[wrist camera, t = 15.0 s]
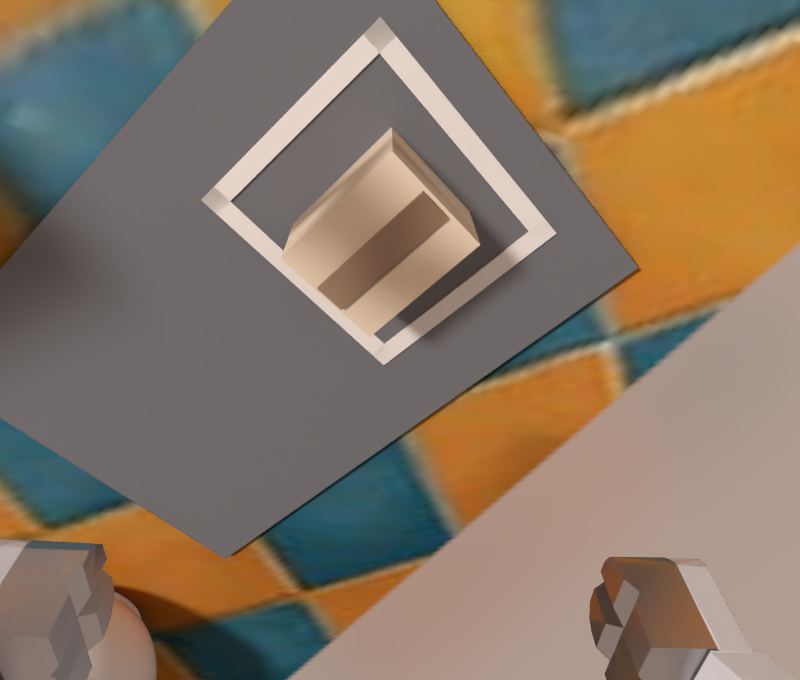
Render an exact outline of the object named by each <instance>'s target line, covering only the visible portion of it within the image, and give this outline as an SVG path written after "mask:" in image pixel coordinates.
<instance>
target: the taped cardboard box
mask: <svg viewBox="0 0 800 680" xmlns="http://www.w3.org/2000/svg"><path fill="white" fill-rule="evenodd" d="M478 246H480V242H479V239H478V236H477V233H476V230H475V227H474V224H473V220H472V217H471V214H470V211H469V210H468V209H467V208H466V206H465V205H464V204H463V203H462V202H461V201H460V200H459V199H458V198H457V197H456V196H455V195H454V193H453V192H452V191H451V190H450V189H449V188H448V187H447V186H446V185H445V184H444V183H443V182H442V181H441V179H440V178H439V177H438V176H437V175H436V174H435V173H434V172H433V171H432V170H431V169H430V168H429V166H428V165H427V164H426V163H425V162H424V161H423V160H422V159H421V158H420V157H419V156H418V155H417V153H416V152H415V151H414V150H413V149H412V148H411V147H410V146H409V145H408V144H407V143H406V142H405V140H404V139H403V138H402V137H401V136H400V135H399V134H398V133H397V132H396V131H395V130H394V129H393V127H391V128H390V129H389V130H388V131H387V132H386V133H385V134H384V135H383V136H382V137H381V138H380V139H379V140H378V141H377V142H376V143H375V144H374V145H373V146H372V147H371V148H370V149H369V150H368V151H367V152H366V153H365V154H364V155H362V156H361V157H360V158H359V159H358V160H357V161H356V162H355V163H354V164H353V165H352V166H351V167H350V168H349V169H348V170H347V171H346V172H345V173H344V174H343V175H342V176H341V177H340V178H339V179H338V180H337V181H336V182H335V183H334V184H333V185H332V186H331V187H330V188H329V189H328V190H327V191H326V192H325V193H324V194H323V195H322V196H321V197H320V198H319V199H318V200H317V201H316V202H315V203H314V204H313V205H312V206H311V207H309V208H308V209H307V210H306V211H305V212H304V213H303V214H302V215H301V216H300V217H299V218H298V219H297V220H296V221H295V222H294V223H293V226H292V228H291V231H290V234H289V237H288V240H287V243H286V246H285V249H284V251H283V254H282V257H281V260H282V261H283V262H285V263H286V264H287V265H288V266H289V267H290V268H291V269H293V270H294V271H295V272H296V273H297V274H298V275H299V276H301V277H302V278H303V279H304V280H305V281H306V282H307V283H309V284H310V285H311V286H312V287H313V288H314V289H315V290H317V291H318V292H319V293H320V294H321V295H322V296H323V297H325V298H326V299H327V300H328V301H329V302H330V303H331V304H333V305H334V306H335V307H336V308H337V309H338V310H339V311H341V312H342V313H343V314H344V315H345V316H346V317H347V318H349V319H350V320H351V321H352V322H353V323H354V324H355V325H357V326H358V327H359V328H360V329H361V330H362V331H363V332H365V333H366V334H367V335H368V336H369V337H371V336H372V335H373V334H374V333H375V332H376V331H378V330H379V329H380V328H381V327H382V326H384V325H385V324H386V323H387V322H388V321H390V320H391V319H392V318H393V317H394V316H396V315H397V314H398V313H399V312H400V311H402V310H403V309H404V308H405V307H406V306H408V305H409V304H410V303H411V302H412V301H414V300H415V299H416V298H417V297H418V296H420V295H421V294H422V293H423V292H424V291H426V290H427V289H428V288H429V287H430V286H432V285H433V284H434V283H435V282H436V281H438V280H439V279H440V278H441V277H442V276H444V275H445V274H446V273H447V272H448V271H450V270H451V269H452V268H453V267H454V266H456V265H457V264H458V263H459V262H460V261H462V260H463V259H464V258H465V257H466V256H468V255H469V254H470V253H471V252H472V251H474V250H475V249H476V248H477V247H478Z"/></svg>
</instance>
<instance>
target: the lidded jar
mask: <svg viewBox="0 0 800 680" xmlns="http://www.w3.org/2000/svg"><path fill="white" fill-rule="evenodd" d="M88 654H89V657H90V660H91V664H92V668H91V671H90V673H89V676H88V678H87V680H156V678H157V662H156V651H155V648H154V644H153V641H152V638H151V635H150V633H149V631H148V629H147V628H146V626H145V624H144V623H143V621H142V618H141V614H140V612H139V610H138V609H137V607H136V606H135V605H134V604H133V603H132V602H131V601H130V600H129V599H128V598H126V597H125V596H123V595H122V594H120V593H118V592H116V591H114V604H113V609H112V614H111V619H110V622H109V625H108V628H107V630H106V633H105V636H104V638H103V639H102V640H101V641H100V642H99V643H98V644H96V645H95V646H94V647H93V648H92V649H91V650H89V651H88Z"/></svg>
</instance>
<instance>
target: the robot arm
mask: <svg viewBox="0 0 800 680" xmlns="http://www.w3.org/2000/svg"><path fill="white" fill-rule="evenodd" d="M106 559H107V557H106V554H105V551H104V548H103V544H89V543H71V542H52V541H34V540H7V539H0V680H87V678H88V676H89V673H90V671H91V668H92V664H91V660H90V657H89V654H88V651H89V650H91V649H92V648H93V647H94V646H95V645H96V644H98V643H99V642H100V641H101V640H102V639H103V638H104V636H105V633H106V630H107V628H108V625H109V622H110V619H111V614H112V609H113V604H114V586H113V581H112V577H111V576H109V575H108V574H107V573H106V572H104V571H103V570H102V568H103V566H104V564H105V562H106ZM601 573H602V576H603V579H604V582H603V583H602V584H601V585H599V586H598V587H596V588H595V589H594V591H593V594H592V597H591V601H590V624H591V630H592V635H593V638H594V641H595V644H596V647H597V649H599V651H600V652H602V654H604V655H605V656H606V657H607V658H608V659H609V660H610V662H609V665H608V667H607V669H606V672H605V676H606V680H796V679H795V678H793V677H792V676H791V675H790V674H789V673H787V672H786V671H785V670H784V669H783V668H781V667H780V666H779V665H778V664H776V663H775V662H774V661H772V659H770V658H769V657H768V656H766V655H765V654H764V653H763V652H758V651H752V649H751V647H750V645H749V643H748V641H747V640H746V638H745V636H744V634H743V632H742V630H741V628H740V627H739V625H738V623H737V621H736V619H735V618H734V616H733V614H732V612H731V610H730V608H729V607H728V605H727V603H726V601H725V599H724V598H723V596H722V594H721V592H720V590H719V588H718V586H717V585H716V583H715V581H714V579H713V577H712V575H711V574H710V572H709V570H708V568H707V566H706V565H705V564H704V563H703V562H702V561H701V560H700V559H667V558H647V557H609V558H608V559H607V560H606V561H605V562H604V565H603V567H602V570H601Z"/></svg>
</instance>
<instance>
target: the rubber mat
mask: <svg viewBox="0 0 800 680" xmlns="http://www.w3.org/2000/svg"><path fill="white" fill-rule="evenodd" d="M391 127H393V129H394V130H395V131H396V132H397V133H398V134H399V135H400V136H401V137H402V138H403V139H404V140H405V142H406V143H407V144H408V145H409V146H410V147H411V148H412V149H413V150H414V151H415V152H416V153H417V155H418V156H419V157H420V158H421V159H422V160H423V161H424V162H425V163H426V164H427V165H428V166H429V168H430V169H431V170H432V171H433V172H434V173H435V174H436V175H437V176H438V177H439V178H440V179H441V181H442V182H443V183H444V184H445V185H446V186H447V187H448V188H449V189H450V190H451V191H452V192H453V193H454V195H455V196H456V197H457V198H458V199H459V200H460V201H461V202H462V203H463V204H464V205H465V206H466V208H467V209H468V210H469V211H470V214H471V217H472V220H473V224H474V227H475V230H476V233H477V236H478V239H479V242H480V246H478V247H477V248H476V249H475V250H474V251H472V252H471V253H470V254H469V255H468V256H466V257H465V258H464V259H463V260H462V261H460V262H459V263H458V264H457V265H456V266H454V267H453V268H452V269H451V270H450V271H448V272H447V273H446V274H445V275H444V276H442V277H441V278H440V279H439V280H438V281H436V282H435V283H434V284H433V285H432V286H430V287H429V288H428V289H427V290H426V291H424V292H423V293H422V294H421V295H420V296H418V297H417V298H416V299H415V300H414V301H412V302H411V303H410V304H409V305H408V306H406V307H405V308H404V309H403V310H402V311H400V312H399V313H398V314H397V315H396V316H394V317H393V318H392V319H391V320H390V321H388V322H387V323H386V324H385V325H384V326H382V327H381V328H380V329H379V330H378V331H376V332H375V333H374V334H373V335H372V336H371V337H369V336H368V335H367V334H366V333H365V332H363V331H362V330H361V329H360V328H359V327H358V326H357V325H355V324H354V323H353V322H352V321H351V320H350V319H349V318H347V317H346V316H345V315H344V314H343V313H342V312H341V311H339V310H338V309H337V308H336V307H335V306H334V305H333V304H331V303H330V302H329V301H328V300H327V299H326V298H325V297H323V296H322V295H321V294H320V293H319V292H318V291H317V290H315V289H314V288H313V287H312V286H311V285H310V284H309V283H307V282H306V281H305V280H304V279H303V278H302V277H301V276H299V275H298V274H297V273H296V272H295V271H294V270H293V269H291V268H290V267H289V266H288V265H287V264H286V263H285V262H283V261H282V260H281V257H282V254H283V251H284V249H285V246H286V243H287V240H288V237H289V234H290V231H291V228H292V226H293V223H294V222H295V221H296V220H297V219H298V218H299V217H300V216H301V215H302V214H303V213H304V212H305V211H306V210H307V209H308V208H309V207H311V206H312V205H313V204H314V203H315V202H316V201H317V200H318V199H319V198H320V197H321V196H322V195H323V194H324V193H325V192H326V191H327V190H328V189H329V188H330V187H331V186H332V185H333V184H334V183H335V182H336V181H337V180H338V179H339V178H340V177H341V176H342V175H343V174H344V173H345V172H346V171H347V170H348V169H349V168H350V167H351V166H352V165H353V164H354V163H355V162H356V161H357V160H358V159H359V158H360V157H361V156H362V155H364V154H365V153H366V152H367V151H368V150H369V149H370V148H371V147H372V146H373V145H374V144H375V143H376V142H377V141H378V140H379V139H380V138H381V137H382V136H383V135H384V134H385V133H386V132H387V131H388V130H389V129H390V128H391ZM638 268H639V267H638V266H637V265H636V264H635V262H634V261H633V260H632V258H631V257H630V256H629V254H628V253H627V252H626V250H625V249H624V248H623V247H622V245H621V244H620V243H619V241H618V240H617V239H616V237H615V236H614V235H613V233H612V232H611V231H610V229H609V228H608V227H607V226H606V224H605V223H604V222H603V220H602V219H601V218H600V216H599V215H598V214H597V212H596V211H595V210H594V208H593V207H592V206H591V205H590V203H589V202H588V201H587V199H586V198H585V197H584V195H583V194H582V193H581V191H580V190H579V189H578V188H577V186H576V185H575V184H574V182H573V181H572V180H571V178H570V177H569V176H568V174H567V173H566V172H565V170H564V169H563V168H562V167H561V165H560V164H559V163H558V161H557V160H556V159H555V157H554V156H553V155H552V153H551V152H550V151H549V149H548V148H547V147H546V146H545V144H544V143H543V142H542V140H541V139H540V138H539V136H538V135H537V134H536V132H535V131H534V130H533V128H532V127H531V126H530V125H529V123H528V122H527V121H526V119H525V118H524V117H523V115H522V114H521V113H520V111H519V110H518V109H517V108H516V106H515V105H514V104H513V102H512V101H511V100H510V98H509V97H508V96H507V94H506V93H505V92H504V90H503V89H502V88H501V87H500V85H499V84H498V83H497V81H496V80H495V79H494V77H493V76H492V75H491V73H490V72H489V71H488V69H487V68H486V67H485V66H484V64H483V63H482V62H481V60H480V59H479V58H478V56H477V55H476V54H475V52H474V51H473V50H472V49H471V47H470V46H469V45H468V43H467V42H466V41H465V39H464V38H463V37H462V35H461V34H460V33H459V31H458V30H457V29H456V28H455V26H454V25H453V24H452V22H451V21H450V20H449V18H448V17H447V16H446V14H445V13H444V12H443V10H442V9H441V8H440V7H439V5H438V4H437V3H436V1H435V0H232V1H231V2H230V3H229V5H228V6H227V7H226V8H225V9H224V10H223V12H222V13H221V14H220V15H219V16H218V17H217V18H216V20H215V21H214V22H213V23H212V24H211V25H210V27H209V28H208V29H207V30H206V31H205V32H204V34H203V35H202V36H201V37H200V38H199V39H198V41H197V42H196V43H195V44H194V45H193V46H192V47H191V49H190V50H189V51H188V52H187V53H186V54H185V56H184V57H183V58H182V59H181V60H180V61H179V63H178V64H177V65H176V66H175V67H174V68H173V69H172V71H171V72H170V73H169V74H168V75H167V76H166V78H165V79H164V80H163V81H162V82H161V83H160V85H159V86H158V87H157V88H156V89H155V90H154V92H153V93H152V94H151V95H150V96H149V97H148V98H147V100H146V101H145V102H144V103H143V104H142V105H141V107H140V108H139V109H138V110H137V111H136V112H135V114H134V115H133V116H132V117H131V118H130V119H129V121H128V122H127V123H126V124H125V125H124V126H123V127H122V129H121V130H120V131H119V132H118V133H117V134H116V136H115V137H114V138H113V139H112V140H111V141H110V143H109V144H108V145H107V146H106V147H105V148H104V150H103V151H102V152H101V153H100V154H99V155H98V156H97V158H96V159H95V160H94V161H93V162H92V163H91V165H90V166H89V167H88V168H87V169H86V170H85V172H84V173H83V174H82V175H81V176H80V177H79V178H78V180H77V181H76V182H75V183H74V184H73V185H72V187H71V188H70V189H69V190H68V191H67V192H66V194H65V195H64V196H63V197H62V198H61V199H60V201H59V202H58V203H57V204H56V205H55V206H54V207H53V209H52V210H51V211H50V212H49V213H48V214H47V216H46V217H45V218H44V219H43V220H42V221H41V223H40V224H39V225H38V226H37V227H36V228H35V230H34V231H33V232H32V233H31V234H30V235H29V236H28V238H27V239H26V240H25V241H24V242H23V243H22V245H21V246H20V247H19V248H18V249H17V250H16V252H15V253H14V254H13V255H12V256H11V257H10V259H9V260H8V261H7V262H6V263H5V264H4V265H3V267H2V268H1V269H0V418H1V419H3V420H4V421H6V422H7V423H9V424H11V425H12V426H14V427H15V428H17V429H19V430H20V431H22V432H23V433H25V434H27V435H28V436H30V437H31V438H33V439H35V440H36V441H38V442H39V443H41V444H42V445H44V446H46V447H47V448H49V449H50V450H52V451H54V452H55V453H57V454H58V455H60V456H62V457H63V458H65V459H66V460H68V461H70V462H71V463H73V464H74V465H76V466H78V467H79V468H81V469H82V470H84V471H86V472H87V473H89V474H90V475H92V476H94V477H95V478H97V479H98V480H100V481H101V482H103V483H105V484H106V485H108V486H109V487H111V488H113V489H114V490H116V491H117V492H119V493H121V494H122V495H124V496H125V497H127V498H129V499H130V500H132V501H133V502H135V503H137V504H138V505H140V506H141V507H143V508H145V509H146V510H148V511H149V512H151V513H153V514H154V515H156V516H157V517H159V518H160V519H162V520H164V521H165V522H167V523H168V524H170V525H172V526H173V527H175V528H176V529H178V530H180V531H181V532H183V533H184V534H186V535H188V536H189V537H191V538H192V539H194V540H196V541H197V542H199V543H200V544H202V545H204V546H205V547H207V548H208V549H210V550H212V551H213V552H215V553H216V554H218V555H219V556H221V557H223V558H224V559H226V558H227V557H229V556H230V555H232V554H233V553H234V552H236V551H237V550H239V549H240V548H241V547H243V546H244V545H246V544H247V543H249V542H250V541H251V540H253V539H254V538H256V537H257V536H259V535H260V534H261V533H263V532H264V531H266V530H267V529H268V528H270V527H271V526H273V525H274V524H276V523H277V522H278V521H280V520H281V519H283V518H284V517H285V516H287V515H288V514H290V513H291V512H293V511H294V510H295V509H297V508H298V507H300V506H301V505H303V504H304V503H305V502H307V501H308V500H310V499H311V498H312V497H314V496H315V495H317V494H318V493H320V492H321V491H322V490H324V489H325V488H327V487H328V486H330V485H331V484H332V483H334V482H335V481H337V480H338V479H339V478H341V477H342V476H344V475H345V474H347V473H348V472H349V471H351V470H352V469H354V468H355V467H356V466H358V465H359V464H361V463H362V462H364V461H365V460H366V459H368V458H369V457H371V456H372V455H374V454H375V453H376V452H378V451H379V450H381V449H382V448H383V447H385V446H386V445H388V444H389V443H391V442H392V441H393V440H395V439H396V438H398V437H399V436H401V435H402V434H403V433H405V432H406V431H408V430H409V429H410V428H412V427H413V426H415V425H416V424H418V423H419V422H420V421H422V420H423V419H425V418H426V417H427V416H429V415H430V414H432V413H433V412H435V411H436V410H437V409H439V408H440V407H442V406H443V405H445V404H446V403H447V402H449V401H450V400H452V399H453V398H454V397H456V396H457V395H459V394H460V393H462V392H463V391H464V390H466V389H467V388H469V387H470V386H472V385H473V384H474V383H476V382H477V381H479V380H480V379H481V378H483V377H484V376H486V375H487V374H489V373H490V372H491V371H493V370H494V369H496V368H497V367H499V366H500V365H501V364H503V363H504V362H506V361H507V360H508V359H510V358H511V357H513V356H514V355H516V354H517V353H518V352H520V351H521V350H523V349H524V348H525V347H527V346H528V345H530V344H531V343H533V342H534V341H535V340H537V339H538V338H540V337H541V336H543V335H544V334H545V333H547V332H548V331H550V330H551V329H552V328H554V327H555V326H557V325H558V324H560V323H561V322H562V321H564V320H565V319H567V318H568V317H570V316H571V315H572V314H574V313H575V312H577V311H578V310H579V309H581V308H582V307H584V306H585V305H587V304H588V303H589V302H591V301H592V300H594V299H595V298H596V297H598V296H599V295H601V294H602V293H604V292H605V291H606V290H608V289H609V288H611V287H612V286H614V285H615V284H616V283H618V282H619V281H621V280H622V279H623V278H625V277H626V276H628V275H629V274H631V273H632V272H633V271H635V270H636V269H638Z"/></svg>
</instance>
